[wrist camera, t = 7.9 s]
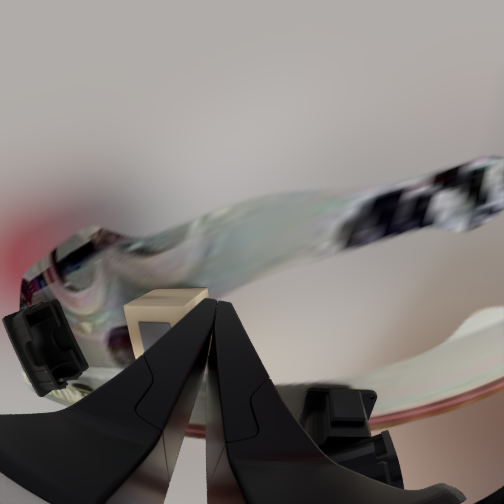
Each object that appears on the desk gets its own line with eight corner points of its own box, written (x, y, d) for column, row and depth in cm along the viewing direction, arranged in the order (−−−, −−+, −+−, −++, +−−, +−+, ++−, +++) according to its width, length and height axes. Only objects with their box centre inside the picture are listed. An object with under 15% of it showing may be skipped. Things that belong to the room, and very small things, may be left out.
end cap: (32, 307, 28) (-5, 322, 22) (57, 294, 27) (14, 309, 20) (63, 375, 29) (31, 397, 22) (92, 371, 27) (56, 398, 21)
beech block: (215, 343, 23) (194, 373, 18) (164, 340, 24) (136, 366, 19) (207, 287, 23) (181, 307, 18) (155, 288, 24) (121, 306, 19)
